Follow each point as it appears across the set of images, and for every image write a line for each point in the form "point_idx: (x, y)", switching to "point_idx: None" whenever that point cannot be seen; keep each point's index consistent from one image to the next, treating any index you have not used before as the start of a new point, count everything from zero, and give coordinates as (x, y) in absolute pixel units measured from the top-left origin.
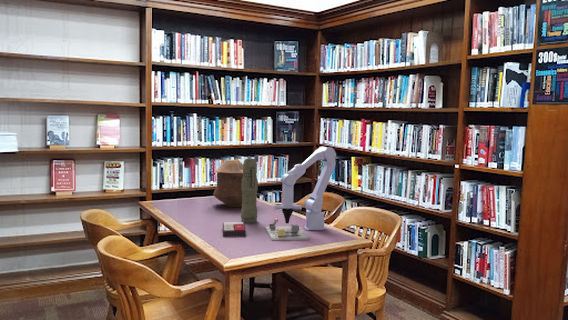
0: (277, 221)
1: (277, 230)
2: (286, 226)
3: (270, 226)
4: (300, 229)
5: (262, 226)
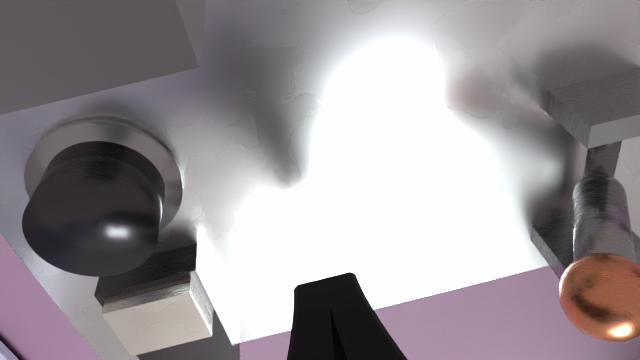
0: (574, 268)
1: (521, 32)
2: None
3: None
4: (15, 197)
5: None
